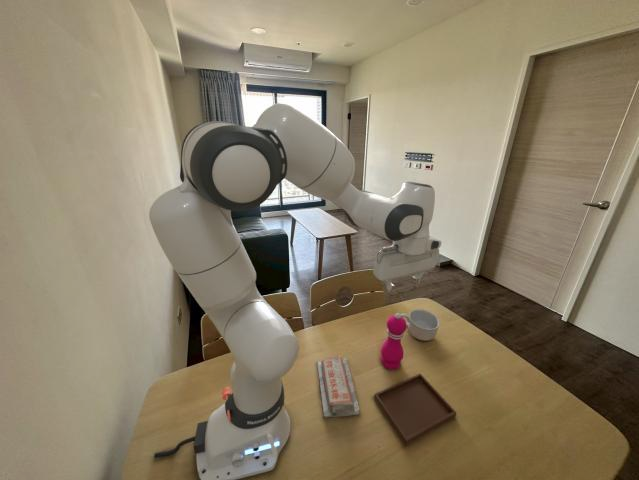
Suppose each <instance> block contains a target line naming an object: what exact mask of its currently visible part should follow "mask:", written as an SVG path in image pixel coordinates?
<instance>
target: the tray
mask: <svg viewBox="0 0 639 480" xmlns="http://www.w3.org/2000/svg"><path fill="white" fill-rule="evenodd" d="M373 398H374V400H375V402H376V403H377V405H378V407H379V408H380V409H381V411H382V413H383V414H384V415H385V417H386V418H387V420H388V421H389V423H390V425H391V426H392V427H393V429H394V430H395V432H396V434H397V435H398V437H399V438H400V439H401V441H402V443H403V445H404V446H408V445H409V444H412V443H413V442H414V441H416V440H419V439H420V438H422V437H424V436H425V435H427V434H428V433H430V432H433V431H434V430H435V429H437V428H439V427H440V426H443V425H445V424H446V423H448V422H449V421H451V420H453V419H455V418H456V416H457V411H456V410H455V409H454V408H453V407H452V405H450V404H449V402H447V400H446V399H445V398H444V397H443V395H441V394H440V393H439V391H437V389H435V387H433V385H432V384H431V383H430V382H429V381H428V380H427V379H426V377H424V376H423V374H422V373H418V374H416V375H413V376H411V377H409V378H406V379H405V380H402V381H400V382H398V383H396V384H394V385H391V386H389V387H387V388H384V389H382V390H380V391H377V392H375V393H374V396H373Z"/></svg>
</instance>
